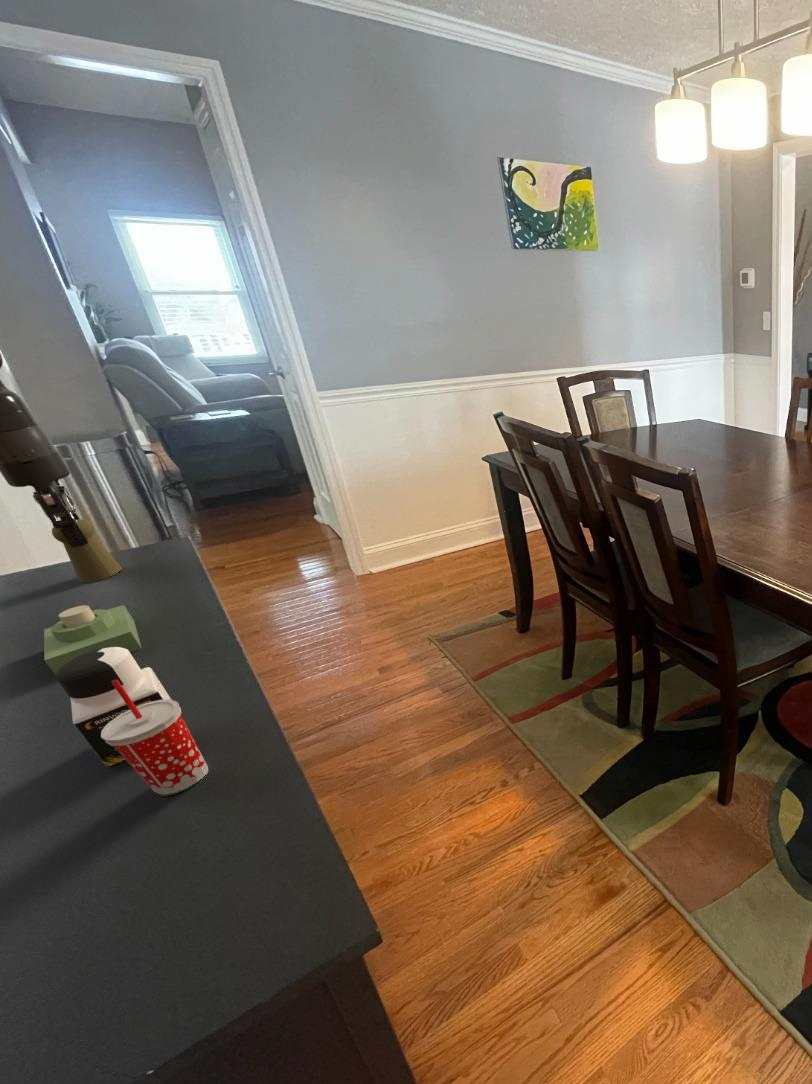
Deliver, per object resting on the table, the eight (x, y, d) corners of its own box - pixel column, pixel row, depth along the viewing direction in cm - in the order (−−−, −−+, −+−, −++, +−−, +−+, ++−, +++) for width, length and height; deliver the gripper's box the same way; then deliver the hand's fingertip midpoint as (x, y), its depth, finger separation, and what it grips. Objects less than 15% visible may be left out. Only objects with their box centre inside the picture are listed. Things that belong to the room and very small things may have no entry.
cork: (75, 577, 112) (40, 524, 107) (118, 564, 117) (86, 513, 112) (83, 585, 109) (47, 531, 104) (126, 572, 114) (94, 519, 109)
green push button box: (141, 648, 90) (124, 621, 88) (57, 678, 84) (36, 649, 82) (134, 621, 97) (117, 595, 95) (56, 646, 92) (36, 619, 89)
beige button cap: (96, 621, 89) (89, 610, 88) (66, 631, 87) (58, 619, 86) (95, 614, 91) (88, 602, 90) (66, 623, 89) (58, 611, 88)
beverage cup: (229, 755, 69) (169, 658, 63) (195, 797, 64) (126, 696, 57) (170, 763, 69) (103, 666, 62) (131, 807, 63) (53, 705, 57)
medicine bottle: (107, 769, 68) (44, 687, 63) (102, 740, 73) (43, 661, 67) (186, 734, 73) (135, 655, 67) (178, 709, 77) (128, 632, 71)
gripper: (-6, 452, 104) (51, 536, 112) (-11, 468, 95) (51, 557, 103) (55, 442, 109) (105, 522, 116) (56, 455, 100) (110, 542, 107)
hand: (80, 539), depth 110 cm, fingers open, 8 cm apart
